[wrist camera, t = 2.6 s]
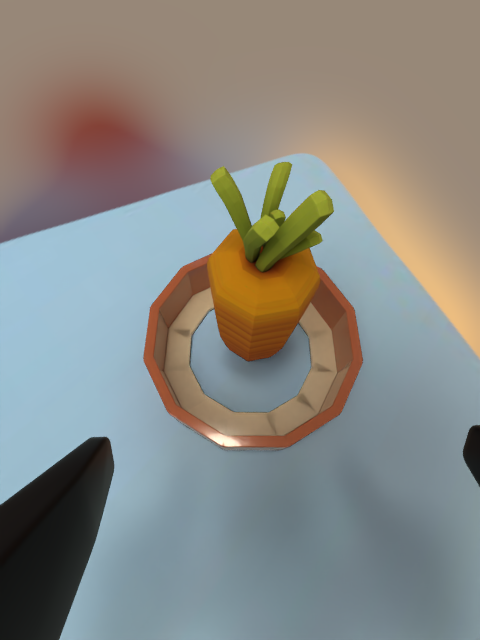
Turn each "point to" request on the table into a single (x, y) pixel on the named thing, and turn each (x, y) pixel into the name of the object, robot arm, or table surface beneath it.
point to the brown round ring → (251, 427)
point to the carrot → (264, 266)
